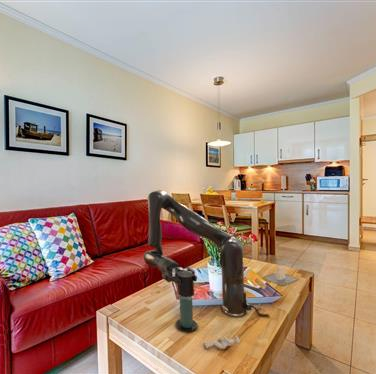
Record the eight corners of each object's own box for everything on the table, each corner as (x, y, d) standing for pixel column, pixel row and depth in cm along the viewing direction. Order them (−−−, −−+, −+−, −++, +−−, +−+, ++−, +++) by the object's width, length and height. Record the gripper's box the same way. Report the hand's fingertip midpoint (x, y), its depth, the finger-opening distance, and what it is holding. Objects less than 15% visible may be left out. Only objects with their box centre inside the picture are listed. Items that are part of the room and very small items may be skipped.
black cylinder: (191, 288, 100) (190, 270, 100) (196, 296, 94) (195, 276, 93) (176, 289, 100) (175, 271, 100) (179, 297, 93) (179, 277, 93)
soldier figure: (203, 343, 88) (231, 330, 89) (210, 358, 85) (239, 344, 86) (204, 339, 82) (234, 326, 83) (211, 355, 79) (242, 341, 80)
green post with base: (193, 319, 102) (192, 292, 101) (199, 331, 93) (198, 302, 93) (174, 320, 101) (173, 293, 101) (179, 333, 93) (178, 303, 92)
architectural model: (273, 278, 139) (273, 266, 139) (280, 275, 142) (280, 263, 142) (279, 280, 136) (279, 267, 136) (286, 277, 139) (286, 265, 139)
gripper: (154, 261, 107) (172, 275, 92) (181, 256, 112) (202, 268, 97) (155, 278, 107) (173, 293, 92) (181, 272, 113) (203, 286, 97)
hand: (188, 280), depth 94 cm, fingers closed on black cylinder, 7 cm apart
